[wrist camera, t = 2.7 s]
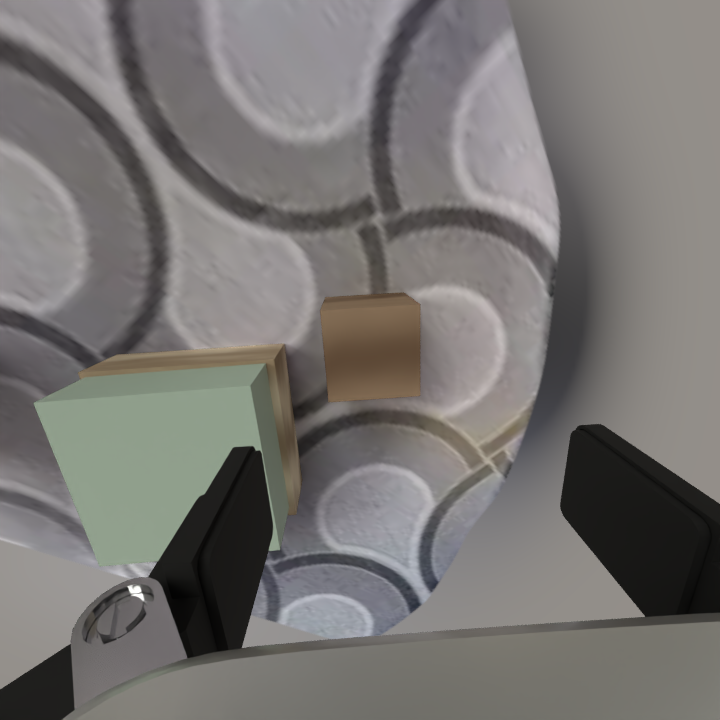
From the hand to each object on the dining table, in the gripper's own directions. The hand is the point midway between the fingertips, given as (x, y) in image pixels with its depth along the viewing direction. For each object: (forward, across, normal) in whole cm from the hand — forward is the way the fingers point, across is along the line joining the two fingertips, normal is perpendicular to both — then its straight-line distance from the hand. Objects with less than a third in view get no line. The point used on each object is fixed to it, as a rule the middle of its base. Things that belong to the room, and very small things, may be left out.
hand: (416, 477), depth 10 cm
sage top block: (+13, +14, +6) cm, 20 cm away
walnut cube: (+18, +1, 0) cm, 18 cm away
